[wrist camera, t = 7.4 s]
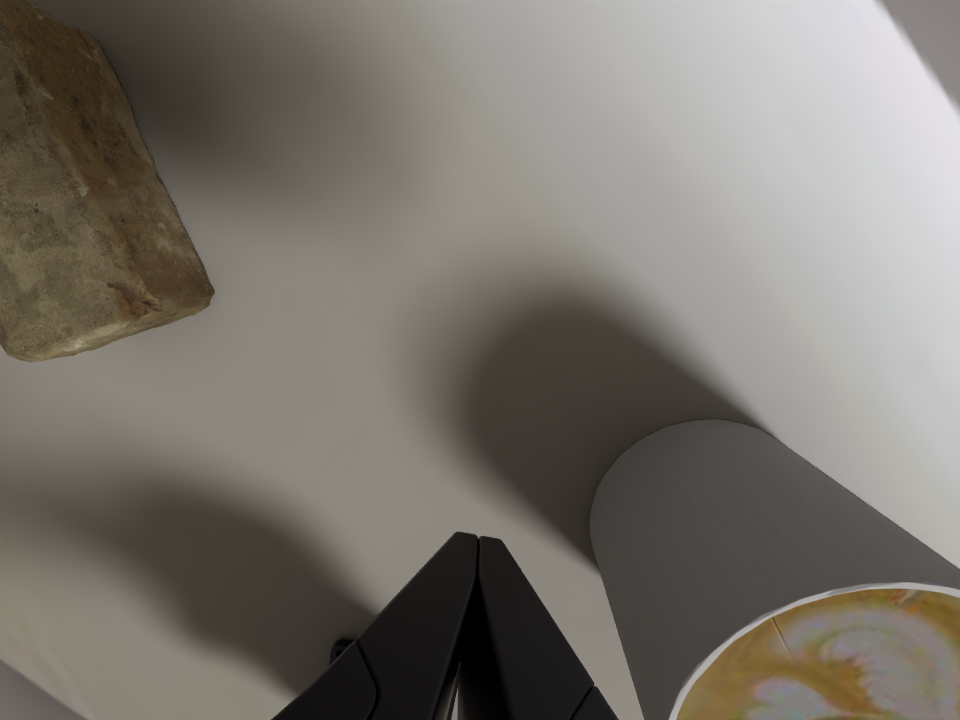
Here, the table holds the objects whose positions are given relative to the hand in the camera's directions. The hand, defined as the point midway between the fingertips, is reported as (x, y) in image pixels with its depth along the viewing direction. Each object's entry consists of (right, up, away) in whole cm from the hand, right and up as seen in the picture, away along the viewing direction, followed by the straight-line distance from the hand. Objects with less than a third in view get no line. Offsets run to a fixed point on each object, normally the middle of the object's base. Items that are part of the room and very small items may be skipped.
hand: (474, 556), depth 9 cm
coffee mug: (+11, -5, +13) cm, 18 cm away
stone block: (-15, +10, +11) cm, 21 cm away
